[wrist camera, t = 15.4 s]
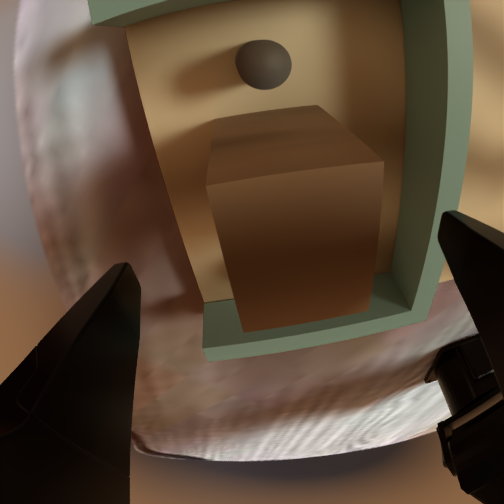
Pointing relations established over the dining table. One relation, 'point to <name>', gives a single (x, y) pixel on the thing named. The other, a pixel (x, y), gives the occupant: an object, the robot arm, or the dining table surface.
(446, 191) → the housing
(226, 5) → the board
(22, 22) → the dining table surface
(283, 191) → the block
